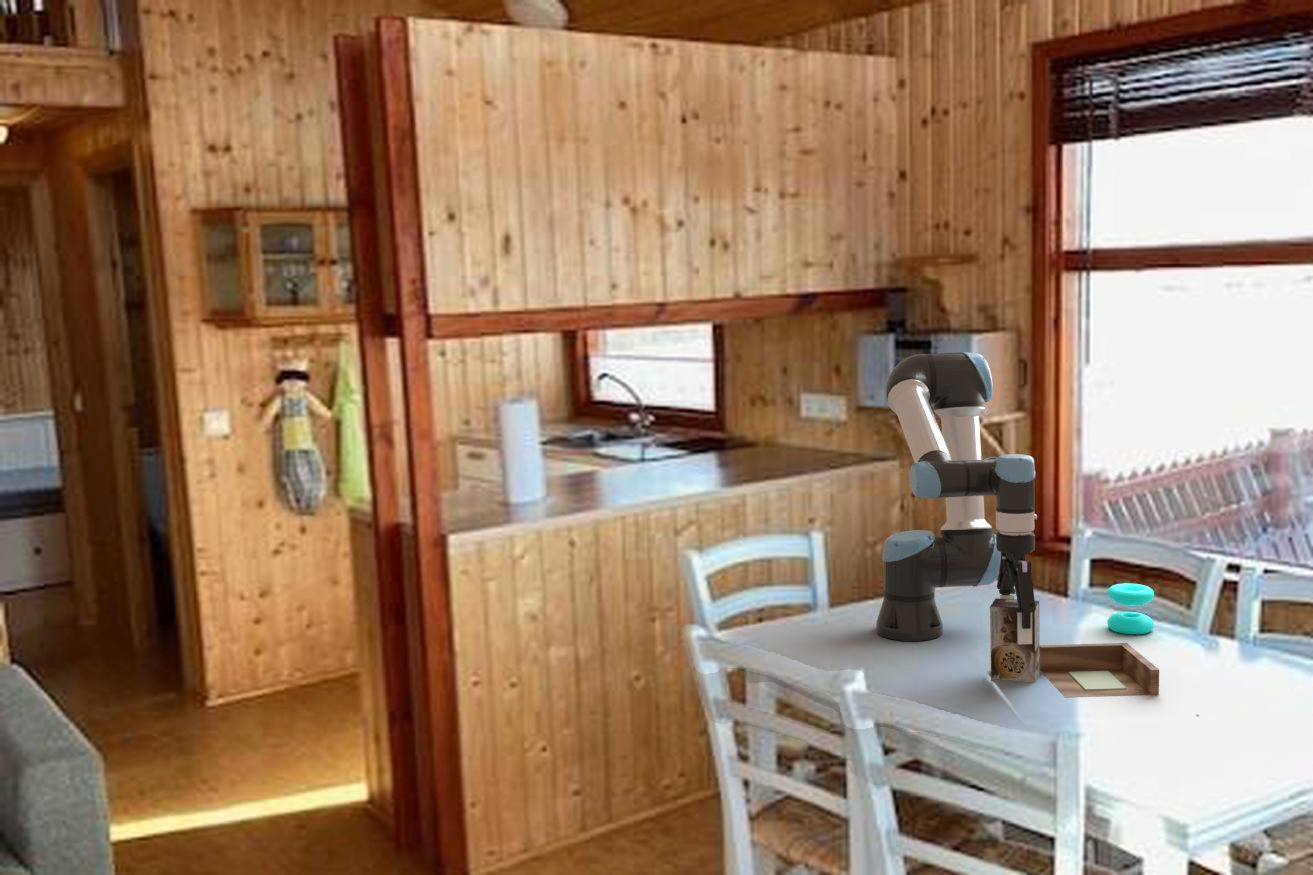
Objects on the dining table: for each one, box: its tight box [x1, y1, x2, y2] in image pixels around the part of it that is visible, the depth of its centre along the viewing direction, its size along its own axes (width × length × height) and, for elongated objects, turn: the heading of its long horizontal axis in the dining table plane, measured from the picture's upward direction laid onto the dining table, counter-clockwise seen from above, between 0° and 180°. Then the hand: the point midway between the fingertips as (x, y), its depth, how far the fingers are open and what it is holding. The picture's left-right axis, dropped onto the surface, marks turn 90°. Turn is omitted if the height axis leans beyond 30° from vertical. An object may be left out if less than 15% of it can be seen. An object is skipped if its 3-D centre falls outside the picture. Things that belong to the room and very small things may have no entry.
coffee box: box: [989, 597, 1041, 683], centre depth 264 cm, size 9×6×16 cm
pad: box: [1068, 671, 1127, 691], centre depth 260 cm, size 11×8×1 cm
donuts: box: [1106, 582, 1155, 635], centre depth 297 cm, size 10×10×10 cm
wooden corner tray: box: [1039, 642, 1160, 698], centre depth 259 cm, size 18×18×6 cm
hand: (1015, 634), depth 263 cm, fingers open, 13 cm apart
